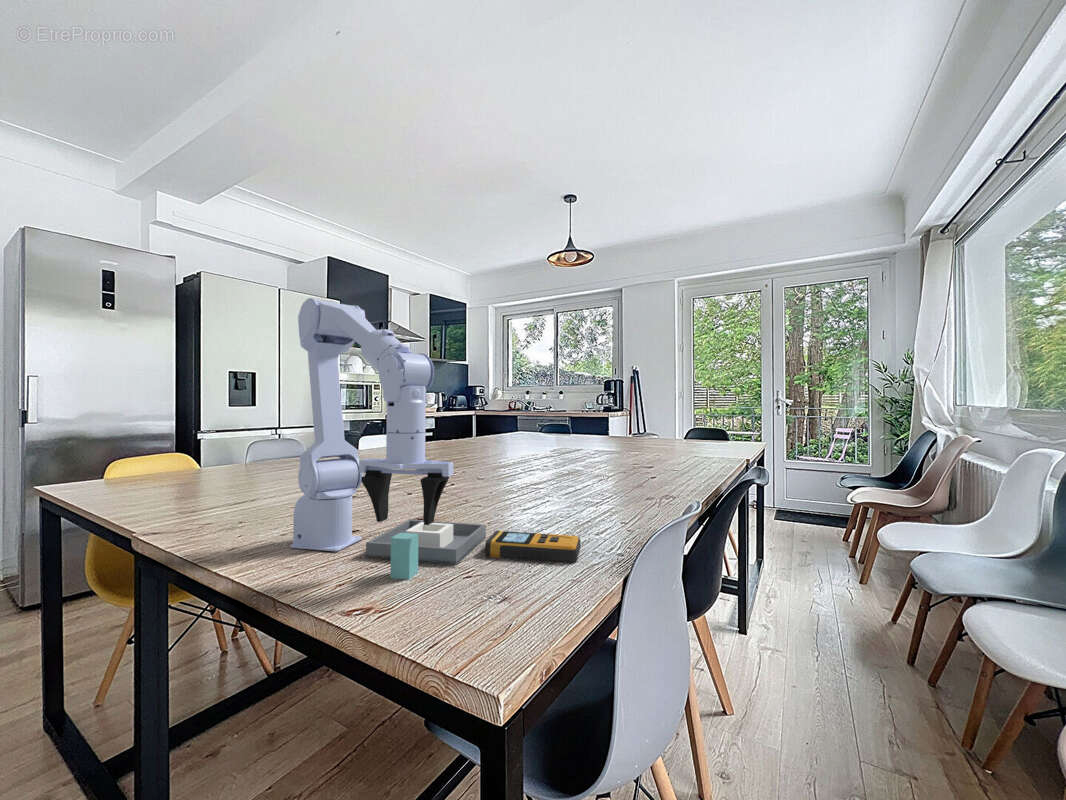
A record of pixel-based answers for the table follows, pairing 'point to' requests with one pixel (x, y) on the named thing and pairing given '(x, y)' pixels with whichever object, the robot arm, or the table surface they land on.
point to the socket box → (432, 541)
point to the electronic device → (533, 547)
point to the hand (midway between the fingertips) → (405, 521)
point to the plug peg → (404, 556)
